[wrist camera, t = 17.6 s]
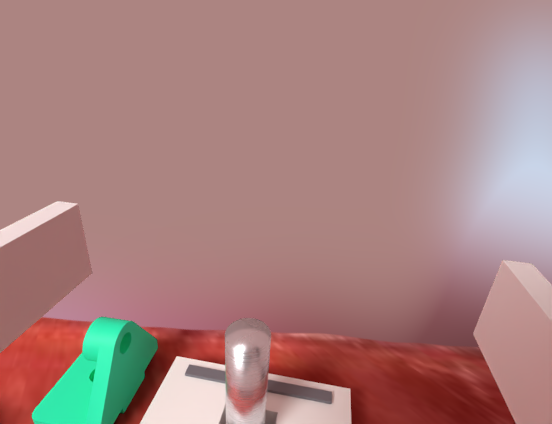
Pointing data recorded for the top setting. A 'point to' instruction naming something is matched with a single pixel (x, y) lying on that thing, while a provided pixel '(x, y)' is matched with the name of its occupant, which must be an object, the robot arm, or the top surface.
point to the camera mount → (100, 375)
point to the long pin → (246, 371)
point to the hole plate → (212, 398)
